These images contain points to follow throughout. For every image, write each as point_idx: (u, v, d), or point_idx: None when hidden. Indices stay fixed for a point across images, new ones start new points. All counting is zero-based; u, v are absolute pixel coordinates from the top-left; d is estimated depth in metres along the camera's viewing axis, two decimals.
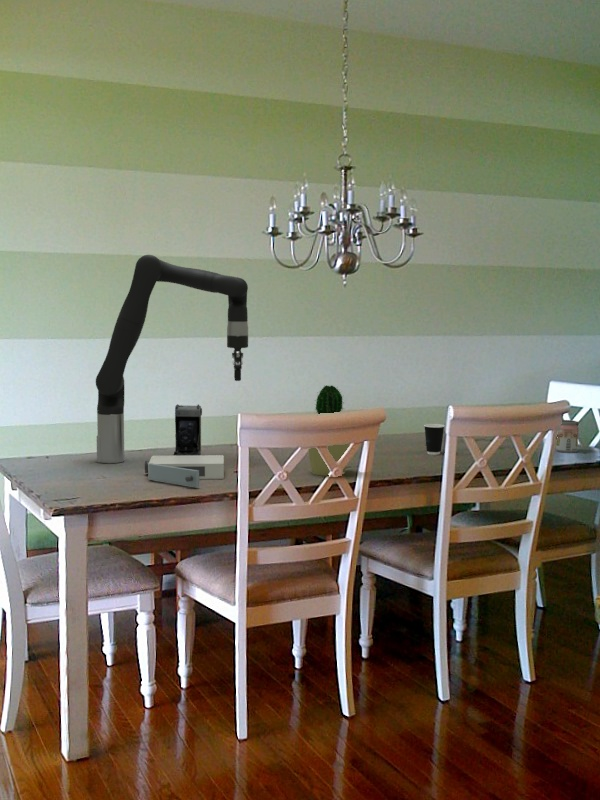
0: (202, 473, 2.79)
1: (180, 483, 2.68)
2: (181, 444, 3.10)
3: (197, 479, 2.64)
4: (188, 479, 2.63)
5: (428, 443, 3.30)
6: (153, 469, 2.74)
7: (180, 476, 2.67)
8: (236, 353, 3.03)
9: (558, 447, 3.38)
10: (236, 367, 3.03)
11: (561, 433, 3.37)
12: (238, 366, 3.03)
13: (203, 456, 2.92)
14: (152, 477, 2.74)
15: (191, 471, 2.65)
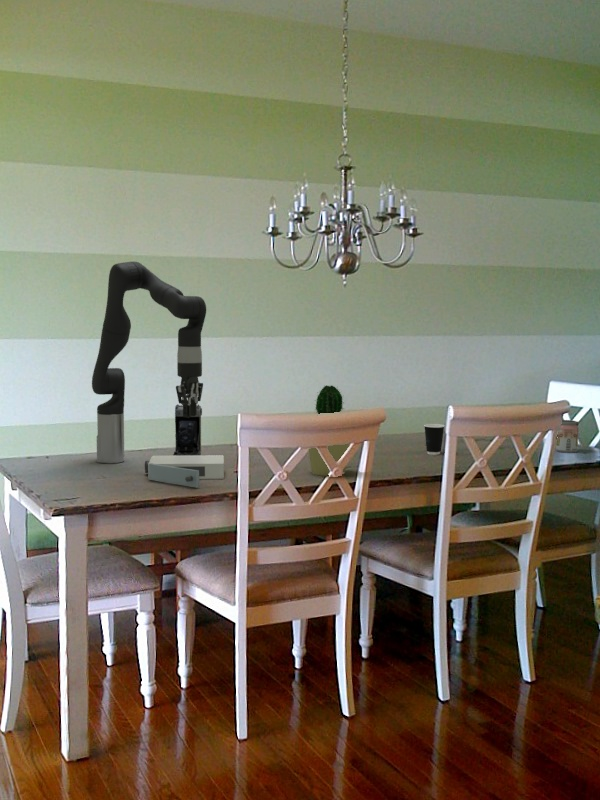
0: (202, 473, 2.79)
1: (180, 483, 2.68)
2: (181, 444, 3.10)
3: (197, 479, 2.64)
4: (188, 479, 2.63)
5: (428, 443, 3.30)
6: (153, 469, 2.74)
7: (180, 476, 2.67)
8: None
9: (558, 447, 3.38)
10: None
11: (561, 433, 3.37)
12: None
13: (203, 456, 2.92)
14: (152, 477, 2.74)
15: (191, 471, 2.65)
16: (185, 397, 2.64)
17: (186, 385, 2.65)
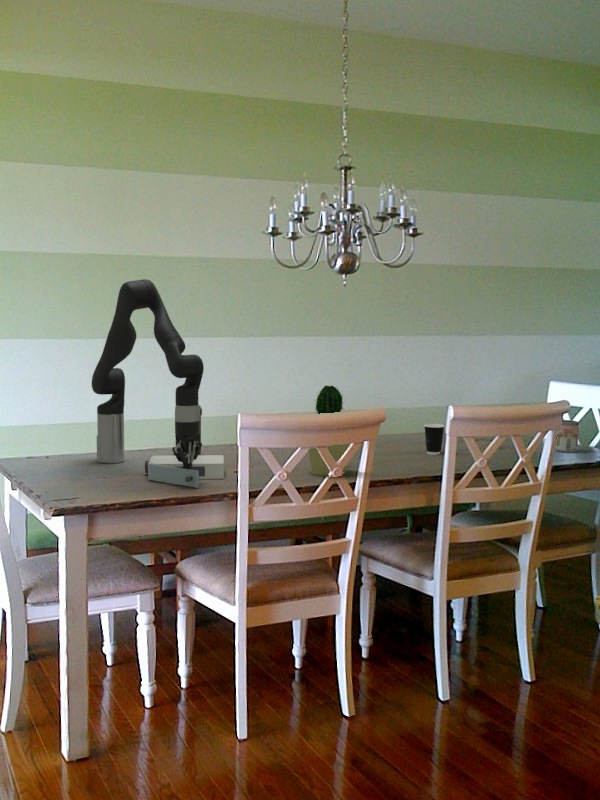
0: (202, 473, 2.79)
1: (180, 483, 2.68)
2: None
3: (197, 479, 2.64)
4: (188, 479, 2.63)
5: (428, 443, 3.30)
6: (152, 469, 2.74)
7: (180, 476, 2.67)
8: None
9: (558, 447, 3.38)
10: None
11: (561, 433, 3.37)
12: None
13: (203, 456, 2.92)
14: (152, 477, 2.74)
15: (191, 471, 2.65)
16: (183, 457, 2.66)
17: (182, 444, 2.65)
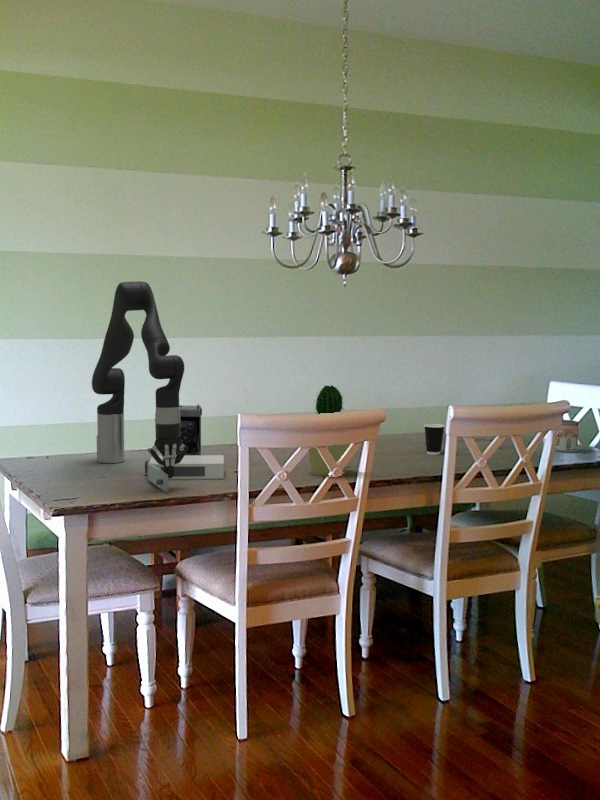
0: (202, 473, 2.79)
1: (158, 486, 2.63)
2: None
3: (165, 483, 2.57)
4: (157, 482, 2.58)
5: (428, 443, 3.30)
6: (148, 469, 2.74)
7: (158, 478, 2.63)
8: None
9: (558, 447, 3.38)
10: None
11: (561, 433, 3.37)
12: None
13: (203, 456, 2.92)
14: (148, 477, 2.74)
15: (162, 474, 2.59)
16: (158, 459, 2.61)
17: (158, 446, 2.61)
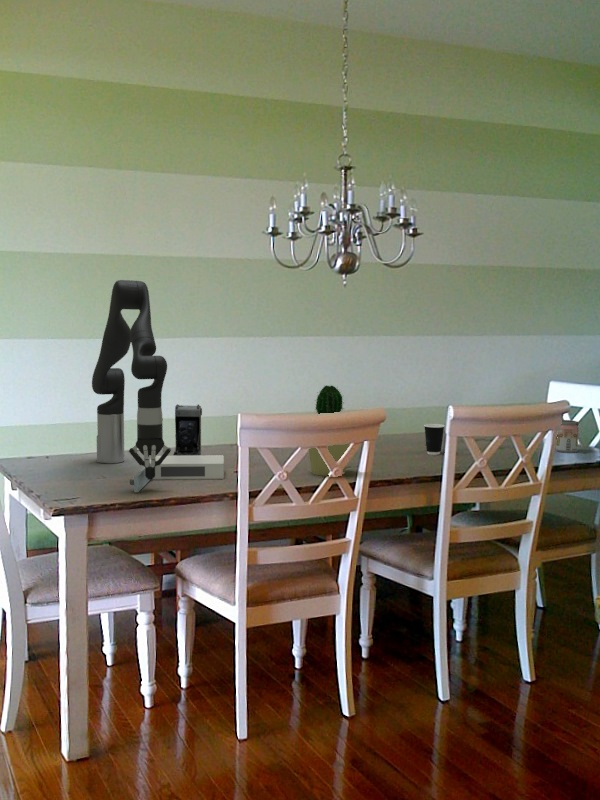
0: (202, 473, 2.79)
1: None
2: (181, 444, 3.10)
3: (135, 484, 2.56)
4: (130, 482, 2.58)
5: (428, 443, 3.30)
6: None
7: None
8: (169, 451, 2.61)
9: (558, 447, 3.38)
10: None
11: (561, 433, 3.37)
12: None
13: (203, 456, 2.92)
14: None
15: (135, 475, 2.58)
16: (137, 459, 2.60)
17: (137, 447, 2.60)
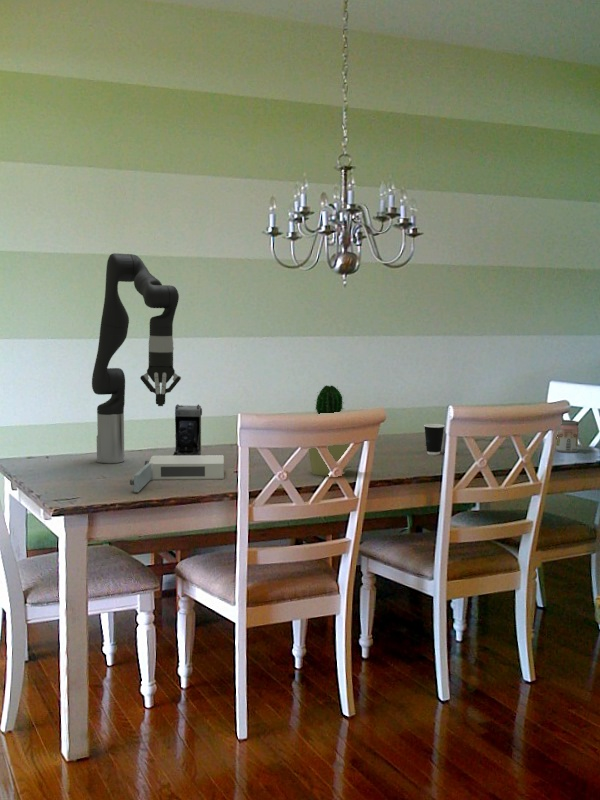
0: (202, 473, 2.79)
1: None
2: (181, 444, 3.10)
3: (135, 484, 2.56)
4: (130, 482, 2.58)
5: (428, 443, 3.30)
6: None
7: None
8: None
9: (558, 447, 3.38)
10: (169, 391, 2.69)
11: (561, 433, 3.37)
12: None
13: (203, 456, 2.92)
14: None
15: (135, 475, 2.58)
16: (148, 386, 2.68)
17: (148, 374, 2.68)
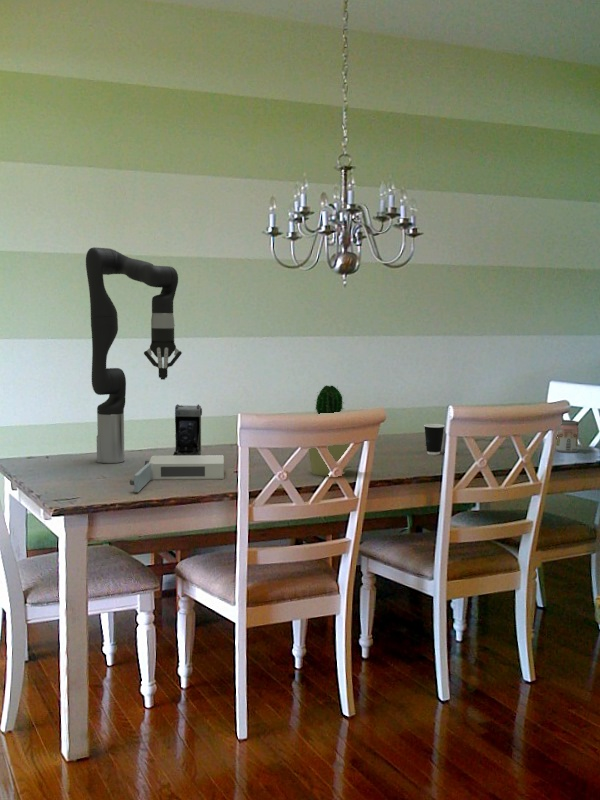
0: (202, 473, 2.79)
1: None
2: (181, 444, 3.10)
3: (135, 484, 2.56)
4: (130, 482, 2.58)
5: (428, 443, 3.30)
6: None
7: None
8: None
9: (558, 447, 3.38)
10: (171, 365, 2.88)
11: (561, 433, 3.37)
12: None
13: (203, 456, 2.92)
14: None
15: (135, 475, 2.58)
16: (151, 360, 2.86)
17: (151, 349, 2.86)
